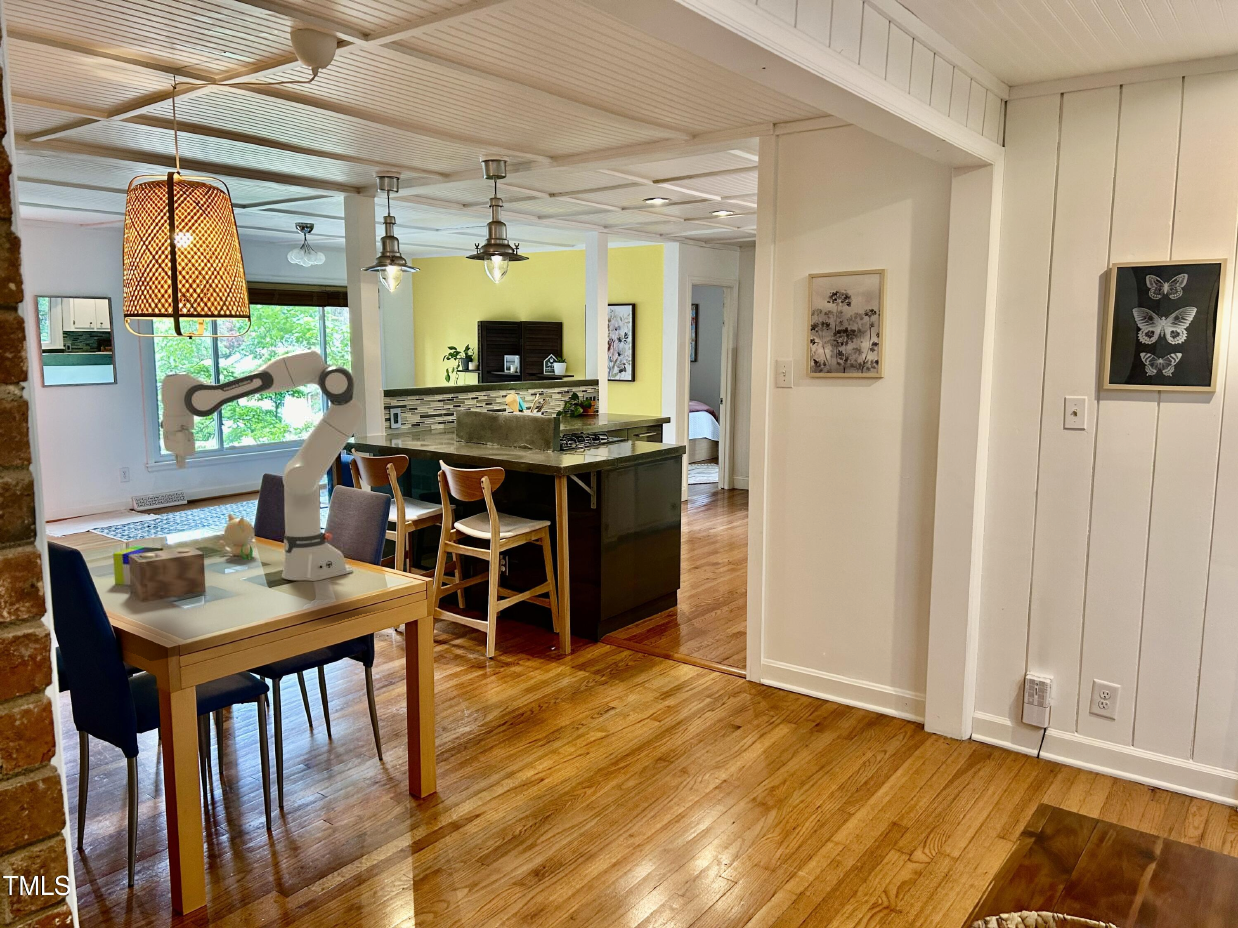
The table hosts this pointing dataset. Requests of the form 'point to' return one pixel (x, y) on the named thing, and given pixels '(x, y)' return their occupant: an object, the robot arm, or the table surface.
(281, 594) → the table surface
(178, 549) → the walnut block
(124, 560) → the puzzle toy
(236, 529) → the kitten
